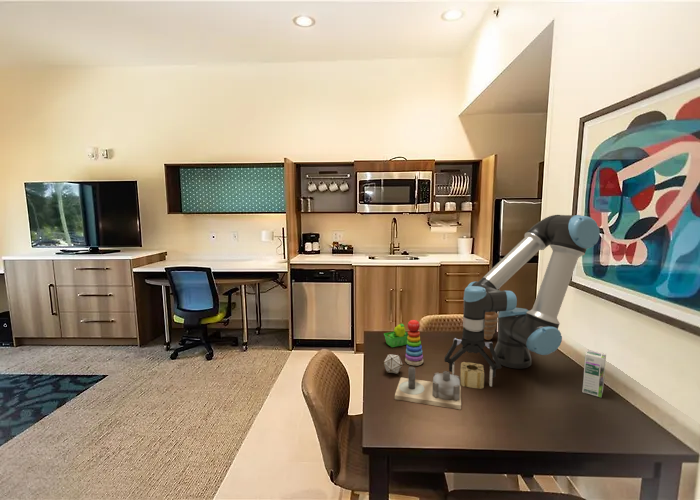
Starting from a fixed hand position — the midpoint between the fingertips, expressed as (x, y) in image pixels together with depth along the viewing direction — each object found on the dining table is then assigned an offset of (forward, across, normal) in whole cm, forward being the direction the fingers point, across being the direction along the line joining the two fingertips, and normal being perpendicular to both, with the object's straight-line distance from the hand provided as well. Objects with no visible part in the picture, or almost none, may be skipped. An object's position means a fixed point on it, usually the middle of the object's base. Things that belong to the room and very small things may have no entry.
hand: (471, 382), depth 130 cm
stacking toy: (0, +23, -11) cm, 25 cm away
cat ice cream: (0, -9, -46) cm, 47 cm away
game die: (0, +30, +1) cm, 30 cm away
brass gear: (0, 0, 0) cm, 0 cm away
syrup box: (0, -41, -5) cm, 41 cm away
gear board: (0, +15, +13) cm, 20 cm away
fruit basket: (0, +33, -28) cm, 43 cm away
